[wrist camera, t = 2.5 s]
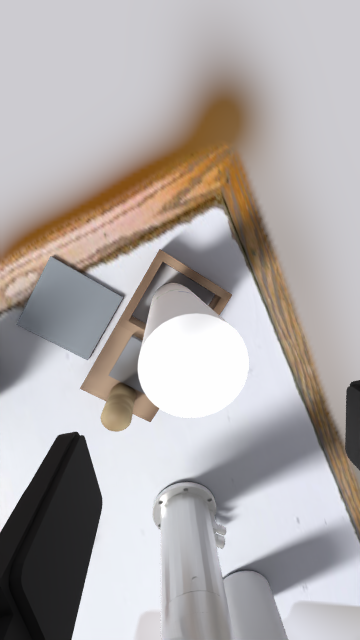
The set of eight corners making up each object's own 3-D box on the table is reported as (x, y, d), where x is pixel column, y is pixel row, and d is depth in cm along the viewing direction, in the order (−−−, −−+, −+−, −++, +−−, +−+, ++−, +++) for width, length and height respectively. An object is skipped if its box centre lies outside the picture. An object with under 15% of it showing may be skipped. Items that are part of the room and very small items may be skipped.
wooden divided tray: (225, 291, 40) (246, 300, 30) (151, 408, 44) (148, 449, 34) (159, 250, 38) (159, 245, 28) (87, 376, 41) (65, 411, 32)
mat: (123, 297, 39) (122, 297, 38) (88, 358, 41) (87, 360, 40) (52, 256, 37) (50, 256, 36) (18, 323, 39) (16, 324, 38)
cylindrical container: (189, 329, 41) (232, 425, 17) (147, 321, 40) (128, 409, 16) (199, 288, 40) (262, 325, 15) (156, 278, 39) (149, 302, 14)
